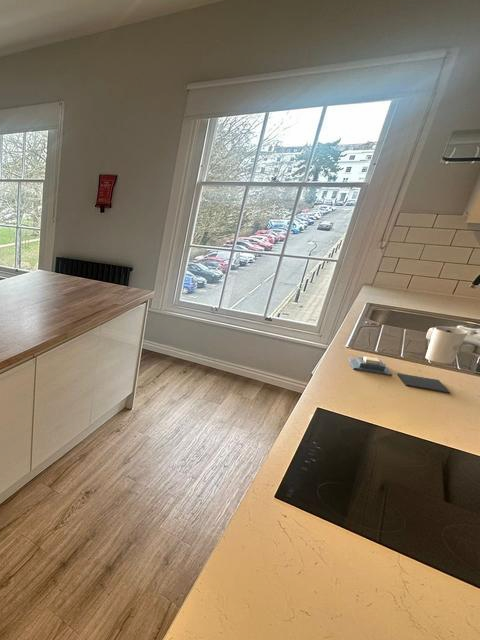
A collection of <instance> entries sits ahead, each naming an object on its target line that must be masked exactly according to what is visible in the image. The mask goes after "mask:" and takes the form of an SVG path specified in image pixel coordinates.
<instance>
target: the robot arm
mask: <svg viewBox="0 0 480 640" xmlns="http://www.w3.org/2000/svg"><path fill="white" fill-rule="evenodd" d="M451 327H452V328H457V329H462V330H465V331H467V332H468V333H467V335H466V337H465V339H464V341H463V343H462V344H461V345H455V346H454V347H453V349H452V350H454V351H458V352H464V353H467V354H471V355H473V356H476V357H478V358H480V327H475V326H470V325H463V324H461V325H460V324H459V325H457V326H451ZM434 328H435V327H430V328H429V329H428V330H427V332H426V336H425V338H426V340H429V341H431V338H432V335H433V331H434Z"/></svg>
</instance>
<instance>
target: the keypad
mask: <svg viewBox="0 0 480 640" xmlns="http://www.w3.org/2000/svg"><path fill="white" fill-rule="evenodd" d="M363 358H364V357H361V356H356V358H350V357H348V358H347V361H348V363H349V365H350V367H351V368H352V370H353V371H358V372H362V373H363V372H364V373H370V374H374V375H381V376H386V377H387V376H388V377H393V373H392V372H391V371H390V369H389V367H387V365H386V364H385V363H384V362H382V360H380V359H379V361H380V363H379V365H376V364H370V363H365V362H364V361H363Z"/></svg>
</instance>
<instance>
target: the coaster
mask: <svg viewBox="0 0 480 640" xmlns="http://www.w3.org/2000/svg"><path fill="white" fill-rule="evenodd" d="M396 375H397V376H398V378H399V380H400V381H401V382H402V383H403V385H404V386H405V387H409V388H414V389H415V388H416V389H421V390H425V391H426V390H427V391H432V392H437V393H442V394H447V395H449V394H451V392H450V391H449V390H448V388H447V387H446V386H445V385H444V384H443V383H442V382H441V381H440V380H439V379H437V378H436V379H434V378H429V377H423V376H417V375H411V374H405V373H400V372H399V373H398V372H397V373H396Z"/></svg>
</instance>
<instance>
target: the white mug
mask: <svg viewBox="0 0 480 640" xmlns="http://www.w3.org/2000/svg"><path fill="white" fill-rule="evenodd" d="M452 327H453V326H435V327H433V328H434V331H433V335H432V338H431V340H429V344H428V349H427V350H426V354H425V359H426V360H428V361H430V362H433V363H439V364H445V365H446V364H447V365H448V364H449V365H450V364H453V363H454V361H455V359H456V357H457V355H458V353H459V351H454V350H452V349H453V347H454V346H455V345H461V344H462V343H463V341H464V339H465V337H466V335H467V333H468V332H467V331H465V330H462V329H457V328H452Z"/></svg>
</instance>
